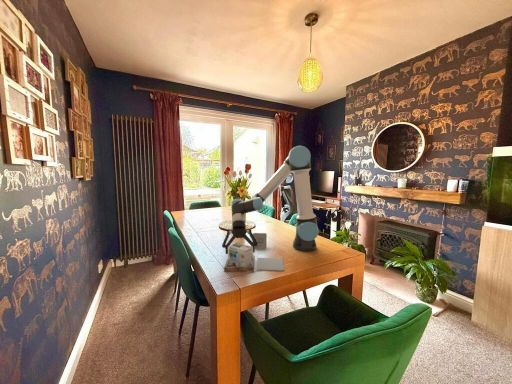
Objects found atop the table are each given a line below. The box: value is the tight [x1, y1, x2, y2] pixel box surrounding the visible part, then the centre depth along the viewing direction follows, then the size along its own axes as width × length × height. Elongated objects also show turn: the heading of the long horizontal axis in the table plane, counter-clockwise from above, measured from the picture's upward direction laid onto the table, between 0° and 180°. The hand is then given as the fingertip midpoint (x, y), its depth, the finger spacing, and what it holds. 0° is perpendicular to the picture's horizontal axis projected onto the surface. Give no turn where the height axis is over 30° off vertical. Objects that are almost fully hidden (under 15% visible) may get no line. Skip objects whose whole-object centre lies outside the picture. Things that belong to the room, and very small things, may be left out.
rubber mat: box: [256, 257, 285, 272], centre depth 116 cm, size 14×14×1 cm
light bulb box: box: [228, 242, 253, 267], centre depth 113 cm, size 11×7×11 cm, turn 59°
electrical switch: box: [251, 232, 268, 249], centre depth 141 cm, size 9×5×9 cm, turn 86°
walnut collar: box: [223, 255, 256, 273], centre depth 115 cm, size 15×15×2 cm
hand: (240, 259), depth 112 cm, fingers closed on light bulb box, 12 cm apart
